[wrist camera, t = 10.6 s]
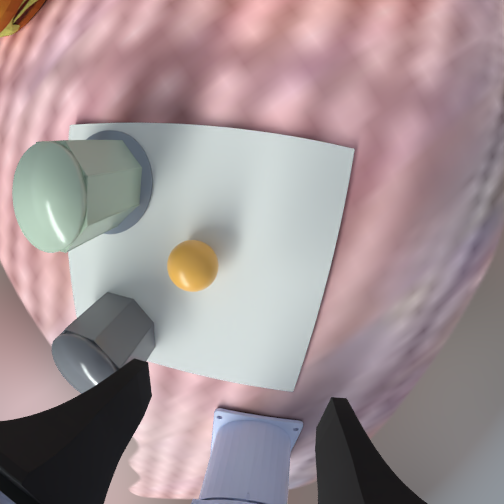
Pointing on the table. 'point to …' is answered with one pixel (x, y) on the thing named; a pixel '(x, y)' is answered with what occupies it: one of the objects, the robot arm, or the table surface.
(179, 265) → the marble
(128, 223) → the coaster
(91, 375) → the grey acorn nut
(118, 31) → the table surface
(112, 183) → the green acorn nut
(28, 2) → the cheeseburger
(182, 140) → the mat
